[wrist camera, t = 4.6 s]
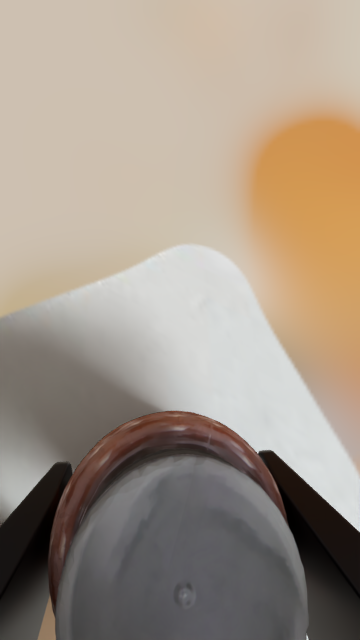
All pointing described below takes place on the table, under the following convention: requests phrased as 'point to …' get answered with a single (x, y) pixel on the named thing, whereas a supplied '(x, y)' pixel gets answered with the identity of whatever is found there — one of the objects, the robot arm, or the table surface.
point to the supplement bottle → (174, 539)
